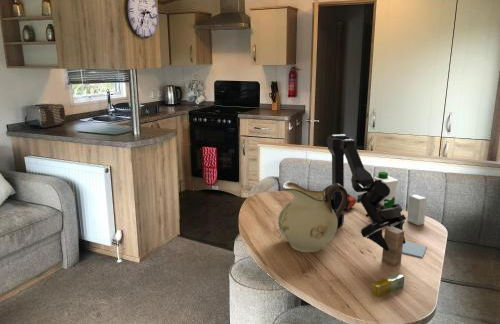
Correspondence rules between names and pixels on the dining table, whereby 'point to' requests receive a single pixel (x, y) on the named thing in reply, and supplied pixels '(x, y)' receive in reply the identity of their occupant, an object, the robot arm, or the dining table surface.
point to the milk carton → (391, 184)
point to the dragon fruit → (351, 201)
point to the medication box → (387, 285)
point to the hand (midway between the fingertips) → (396, 246)
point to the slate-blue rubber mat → (413, 249)
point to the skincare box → (416, 209)
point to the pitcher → (310, 216)
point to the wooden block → (393, 246)
